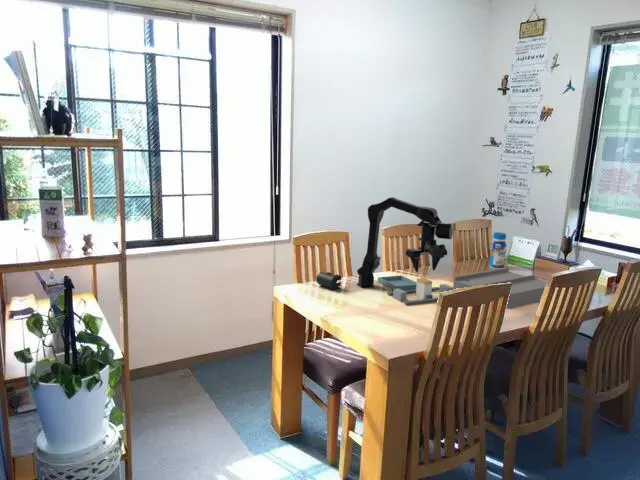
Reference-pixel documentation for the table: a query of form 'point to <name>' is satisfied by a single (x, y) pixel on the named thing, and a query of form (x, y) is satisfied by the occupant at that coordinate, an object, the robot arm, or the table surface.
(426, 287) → the fuse
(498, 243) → the beverage bottle
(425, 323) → the table surface
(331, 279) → the electric motor
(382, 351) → the table surface
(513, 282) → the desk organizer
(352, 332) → the table surface
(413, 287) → the tray
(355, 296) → the table surface
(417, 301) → the fuse holder
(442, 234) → the robot arm
